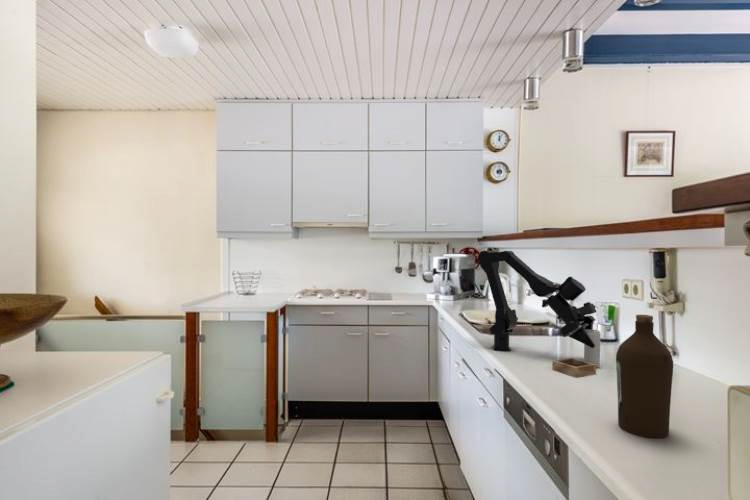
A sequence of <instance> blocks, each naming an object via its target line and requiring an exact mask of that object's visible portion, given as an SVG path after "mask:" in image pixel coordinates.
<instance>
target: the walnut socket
mask: <svg viewBox="0 0 750 500" xmlns="http://www.w3.org/2000/svg"><path fill="white" fill-rule="evenodd" d="M551 368H552V369H551V370H553V371H556V372H557V373H558V372H559V373H561V374H565V375H567V376H570V377H574V378H580V377H585V376H586V377H587V376H591V375H596V374H597V368H596V365H595V364H592V363H588V362H585V361H584V360H580V359H578V358H573V357H569V358H568V357H567V358H562V359H561V358H560V359H555V360H552V367H551Z"/></svg>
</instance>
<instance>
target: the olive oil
mask: <svg viewBox="0 0 750 500" xmlns="http://www.w3.org/2000/svg"><path fill="white" fill-rule="evenodd" d="M635 319H636V320H635V321H634V322H635V326H634V327H635V328H634V329H635V331H634V332H633V333H632V334H631V335H630V336H628V338H626V339H625V340H624V341H622V343H621V344H620V345H619V347H618V349H617V351H616V354H615V367H616V389H617V392H616V393H617V394H616V395H617V421H618V426H619V428H621V429H622V430H623V431H625V432H628V433H630V434H633V435H636V436H638V437H639V436H640V437H644V438H648V439H649V438H650V439H663V438H666V437H668V436H669V435H670V421H671V420H670V415H671V402H672V401H671V400H672V387H673V386H672V385H673V375H674V360H673V359H674V358H673V356H672V354H671V351H670V350H669V348H668V347H667V346H666V345H665V344H664V343H663V342H662V341H661V340H660V339H659V338H658V337H657V336H656V335H655V333H654V322H653V321H654V316H652V315H650V314H636V315H635Z"/></svg>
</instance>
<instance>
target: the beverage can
mask: <svg viewBox="0 0 750 500" xmlns="http://www.w3.org/2000/svg"><path fill="white" fill-rule="evenodd" d="M585 332H586V333H587V335H588V336H589V337H590V339H591V340H592V342H593V343H594V345H595V347H594V348H591V347H589V346H587V345H585V344H584V345H583V346H584V347H583V348H584V349H583V361H585V362H588V363H592V364H595V365H596V369H598V368H599V367H600V366H601V331H600V330H598V329H593V330H591V329H587V330H585Z"/></svg>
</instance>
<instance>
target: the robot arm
mask: <svg viewBox="0 0 750 500" xmlns="http://www.w3.org/2000/svg"><path fill="white" fill-rule="evenodd" d="M477 261H478V264H479V266H480V268H481V269H482V270H483V272H484V273H485V275H486V278H487V281H488V285H489V289H490V291H491V295H492V299H493V303H494V306H495V313H494V321H495V323H494V324H493V325H492V326H491V327H489V331H490V334H491V335H493V344H492V345H491V347H492V349H493V351H504V352H505V351H506V352H508V351H509V352H512V348H511V347H510V334H511V333H513V331H514V329H515V328H516V327H517V326H518V320H519V318H518V316H517V311H516V309H511V308H510V306H509V305H508V301H507V297H506V293H505V291H504V290H505V289H504V287H503V283H502V280H501V276H500V273H499V268H500V262H505V263H506V264H507V265H509V266H510V267H511V268H512V269H513V270H514V271H515V272H516V273H517V274H518V275H520V277H522V278H523V280H525V281H526V282H527V283H528V286H529V289H531V290H532V292H533V293H534V294H535V296H537V297H539V298H545V297H548V298H547V299H542V300H541V303H542V304H541V308H547V307H549V308H550V309H551V310H552V311H553V312H554V313H555V314H556V318H557V320H561V321H562V322H563V323H564V326H562V327H561V328H560V331H559V333H560V335H561V336H562V337H563V338H566V337H569V338H571V339H573V340H575V341H577V342H579V343H581V344H585V345H587V346H589V347H591V348H594V347H595V345H594V343H593V342H592V340H591V339H590V337H589V336H588V335H587V333H586V332H585V330H587V329H591V330H594V324H595V323H594V322H595V321H596V319H595V317H593V314H595V313H597V309H596V307H597V306H596V305H595V304H594V303H592V302H590V301H587V302H584V303H583V306H579V307H578V308H577V307H576V305H573V306H572V305H571V304H570V303H569V302H568V301H571V302H572V301H573V302H574V301H575V300H576V299H578V298H579V297H580V296H581V295H582V294H583V293H584V292H585V291H586V290H587V289H586V287H585V286H584V284H583V283H582V282H580V281H579V280H577V279H576V278H573V276H568V277H567V278H566V279H565V280H564V281H563V282H562V283H561V284H555V283H553V281H551V280H550V279H548V278H546V277H545V276H542V275H540V274H538V273H537V272H535V271H534V270H533V269H532V268H531V267H530V266H529V265H527V263H525V262H524V261H523V260H521V258H519V256H517V255H516V254H515V253H514V251H512V250H503V251H494V250H482V251H480V252H479V253H478V255H477ZM554 293H556V294H554ZM569 334H570V335H569Z"/></svg>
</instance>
